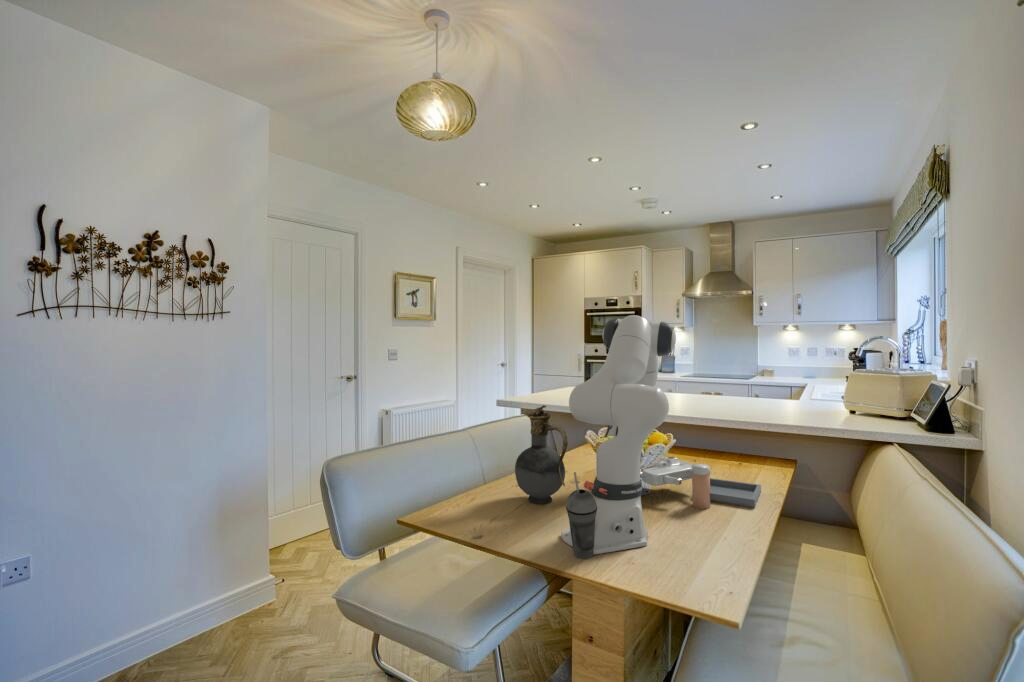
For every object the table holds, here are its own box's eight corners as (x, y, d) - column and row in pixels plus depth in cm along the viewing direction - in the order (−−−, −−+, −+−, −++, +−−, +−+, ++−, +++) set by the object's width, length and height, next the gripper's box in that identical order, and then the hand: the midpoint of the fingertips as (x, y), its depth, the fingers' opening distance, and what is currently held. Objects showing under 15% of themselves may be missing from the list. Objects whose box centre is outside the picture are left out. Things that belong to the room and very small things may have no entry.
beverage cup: (599, 563, 111) (596, 479, 108) (567, 562, 112) (563, 479, 109) (598, 545, 118) (595, 466, 115) (568, 544, 119) (564, 466, 116)
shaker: (702, 510, 143) (702, 469, 143) (688, 505, 147) (687, 465, 147) (714, 506, 145) (713, 466, 145) (700, 501, 150) (699, 462, 150)
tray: (754, 508, 144) (754, 499, 144) (694, 498, 153) (694, 490, 153) (761, 492, 158) (760, 484, 158) (705, 484, 167) (705, 477, 167)
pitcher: (534, 491, 163) (532, 401, 163) (579, 504, 149) (577, 406, 149) (510, 498, 156) (509, 404, 155) (555, 513, 142) (553, 410, 142)
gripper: (633, 464, 157) (666, 474, 145) (678, 456, 167) (712, 465, 155) (633, 484, 157) (666, 495, 145) (678, 474, 167) (712, 485, 155)
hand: (690, 479), depth 150 cm, fingers open, 8 cm apart
